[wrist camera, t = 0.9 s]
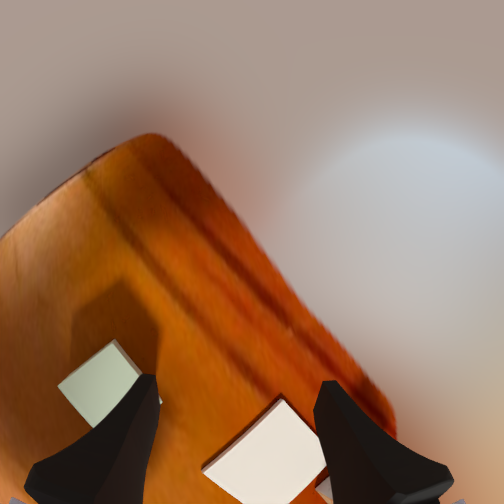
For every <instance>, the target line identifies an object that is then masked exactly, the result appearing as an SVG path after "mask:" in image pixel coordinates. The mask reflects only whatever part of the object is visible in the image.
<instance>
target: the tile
mask: <svg viewBox="0 0 504 504" xmlns="http://www.w3.org/2000/svg"><path fill="white" fill-rule="evenodd" d="M325 466H326V462H325V458H324V455H323V452H322V448H321V445H320V442H319V438H318V437H317V436H316V435H315V434H314V433H313V432H312V431H311V430H310V429H309V427H308V426H307V425H306V424H305V423H304V422H303V421H302V420H301V419H300V418H299V417H298V416H297V414H296V413H295V412H294V411H293V410H292V409H291V408H290V407H289V406H288V404H287V403H286V402H285V401H284V400H282V399H279V400H278V401H277V402H276V403H275V404H274V405H273V406H272V407H271V408H270V409H269V410H268V411H267V412H266V413H265V414H264V415H263V416H262V417H261V418H260V419H259V420H258V421H257V422H256V423H255V424H254V425H253V426H251V427H250V428H249V429H248V430H247V431H246V432H245V433H244V434H243V435H242V436H241V437H239V438H238V439H237V440H236V441H235V442H234V443H233V444H232V445H230V446H229V447H228V448H227V449H226V450H225V451H224V452H222V453H221V454H220V455H219V456H218V457H217V458H215V459H214V460H213V461H212V462H211V463H209V464H208V465H207V466H206V467H205V468H203V469H202V470H201V471H202V472H203V474H205V475H206V476H207V477H208V478H210V479H211V480H212V481H214V482H215V483H216V484H217V485H219V486H220V487H221V488H223V489H224V490H225V491H227V492H228V493H229V494H231V495H232V496H234V497H235V498H236V499H238V500H239V501H241V502H242V503H244V504H288V503H289V502H290V501H292V500H293V499H294V498H295V497H296V496H297V495H298V494H299V493H300V492H301V491H302V490H303V489H304V488H305V487H306V486H307V485H308V484H309V483H310V482H311V481H312V480H313V479H314V478H315V477H316V476H317V475H318V474H319V473H320V472H321V471H322V470H323V469H324V467H325Z"/></svg>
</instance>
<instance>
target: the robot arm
mask: <svg viewBox="0 0 504 504" xmlns="http://www.w3.org/2000/svg"><path fill="white" fill-rule="evenodd" d="M159 412H160V400H159V394H158V388H157V382H156V375H150V374H141V375H140V376H139V377H138V378H137V380H136V381H135V382H134V384H133V385H132V386H131V388H130V389H129V390H128V392H127V393H126V394H125V395H124V397H123V398H122V399H121V400H120V401H119V402H118V404H117V405H116V406H115V407H114V408H113V409H112V410H111V411H110V412H109V413H108V414H107V416H106V417H105V418H104V419H103V420H102V421H101V422H99V423H98V424H97V425H96V426H95V427H94V428H93V429H92V430H90V431H89V432H88V433H87V434H85V435H84V436H83V437H82V438H80V439H79V440H77V441H76V442H75V443H73V444H72V445H70V446H68V447H67V448H65V449H63V450H62V451H60V452H58V453H56V454H55V455H53V456H51V457H48V458H46V459H44V460H42V461H39V462H37V463H35V464H34V465H33V467H32V469H31V470H30V472H29V475H28V477H27V480H26V482H25V485H24V489H25V491H26V492H27V493H28V494H29V495H30V496H31V497H32V498H33V499H34V500H35V501H36V502H37V503H38V504H142V502H143V491H144V482H145V474H146V469H147V464H148V460H149V456H150V452H151V449H152V445H153V441H154V437H155V434H156V430H157V426H158V420H159ZM313 413H314V420H315V426H316V431H317V435H318V438H319V442H320V445H321V448H322V452H323V455H324V458H325V462H326V465H327V468H328V473H329V477H330V483H331V490H332V497H333V504H440V502H439V499H438V498H439V497H440V496H441V495H443V494H444V493H445V492H446V491H447V490H448V489H449V488H450V487H451V486H452V485H453V483H454V479H453V477H452V475H451V473H450V471H449V469H448V467H447V466H446V465H443V464H440V463H438V462H435V461H432V460H430V459H428V458H426V457H423V456H421V455H419V454H417V453H415V452H414V451H412V450H410V449H409V448H407V447H405V446H404V445H402V444H401V443H399V442H398V441H396V440H395V439H393V438H392V437H391V436H390V435H388V434H387V433H386V432H384V431H383V430H382V429H381V428H380V427H379V426H377V425H376V424H375V423H374V422H373V421H372V420H371V419H370V418H369V417H368V416H367V415H366V414H365V413H364V412H363V411H362V410H361V409H360V408H359V407H358V405H357V404H356V403H355V402H354V401H353V400H352V399H351V398H350V396H349V395H348V394H347V393H346V392H345V390H344V389H343V388H342V387H341V386H340V385H339V383H338V382H337V381H336V380H332V381H323V382H322V385H321V388H320V391H319V394H318V397H317V400H316V403H315V406H314V409H313ZM9 504H26V503H24V502H22V501H20V500H18V499H16V498H14V497H11V500H10V502H9ZM453 504H466V503H465V501H464V499H461V500H459V501H457V502H455V503H453Z"/></svg>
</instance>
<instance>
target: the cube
mask: <svg viewBox="0 0 504 504" xmlns="http://www.w3.org/2000/svg"><path fill="white" fill-rule="evenodd" d="M141 374H143V373H142V372H141V371H140V369H139V368H138V367H137V366H136V365H135V363H134V362H133V361H132V360H131V358H130V357H129V356H128V355H127V354H126V352H125V351H124V350H123V348H122V347H121V346H120V345H119V343H118V342H117V341H116V339H113V340H112V341H111V342H110V343H108V344H107V345H106V346H105V347H103V348H102V349H101V350H99V351H98V352H97V353H96V354H94V355H93V356H92V357H91V358H89V359H88V360H87V361H85V362H84V363H83V364H82V365H80V366H79V367H78V368H77V369H75V370H74V371H73V372H72V373H70V374H69V375H68V376H67V377H66V378H65V379H64V380H63V381H62V382H61V383H60V384H59V385H58V388H59V389H60V390H61V392H62V393H63V394H64V395H65V396H66V398H67V399H68V400H69V401H70V402H71V404H72V405H73V406H74V407H75V408H76V410H77V411H78V412H79V413H80V414H81V415H82V416H83V417H84V419H85V420H86V421H87V422H88V423H89V424H90V425H91V426H92V427H93V428H94V427H95V426H96V425H97V424H98V423H99V422H101V421H102V420H103V419H104V418H105V417H106V416H107V414H108V413H109V412H110V411H111V410H112V409H113V408H114V407H115V406H116V405H117V404H118V402H119V401H120V400H121V399H122V398H123V397H124V395H125V394H126V393H127V392H128V390H129V389H130V388H131V386H132V385H133V384H134V382H135V381H136V380H137V378H138V377H139V376H140V375H141ZM159 400H160V404H161V403H162V400H161V398H160V396H159Z"/></svg>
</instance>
